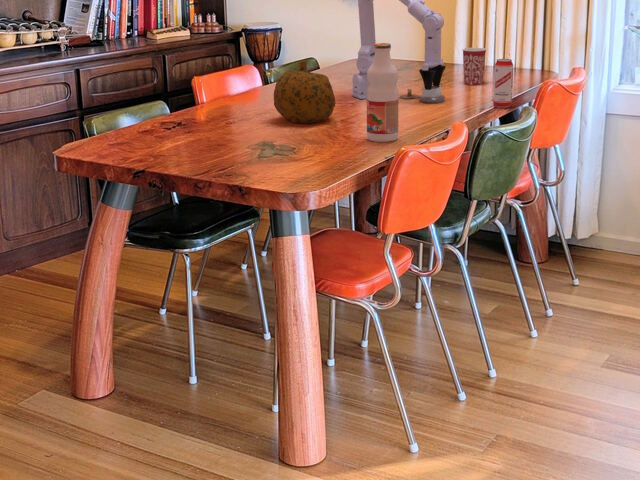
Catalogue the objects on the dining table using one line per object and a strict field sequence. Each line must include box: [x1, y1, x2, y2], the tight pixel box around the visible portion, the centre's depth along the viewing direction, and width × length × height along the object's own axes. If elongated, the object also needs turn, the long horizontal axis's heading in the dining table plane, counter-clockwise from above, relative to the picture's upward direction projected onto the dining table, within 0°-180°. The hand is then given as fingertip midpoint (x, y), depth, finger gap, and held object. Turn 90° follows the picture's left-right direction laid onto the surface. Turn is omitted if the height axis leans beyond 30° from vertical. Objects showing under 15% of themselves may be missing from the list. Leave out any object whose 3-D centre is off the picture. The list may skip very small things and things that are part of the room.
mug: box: [462, 47, 487, 86], centre depth 359 cm, size 13×9×14 cm
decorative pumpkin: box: [273, 60, 337, 125], centre depth 299 cm, size 20×21×20 cm
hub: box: [419, 94, 446, 104], centre depth 328 cm, size 9×9×4 cm
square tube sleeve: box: [421, 85, 443, 99], centre depth 327 cm, size 5×5×4 cm
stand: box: [399, 88, 420, 100], centre depth 335 cm, size 7×7×3 cm
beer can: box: [492, 58, 514, 109], centre depth 312 cm, size 6×6×16 cm
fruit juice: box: [366, 42, 400, 143], centre depth 269 cm, size 9×9×28 cm
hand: (432, 87), depth 327 cm, fingers open, 7 cm apart
